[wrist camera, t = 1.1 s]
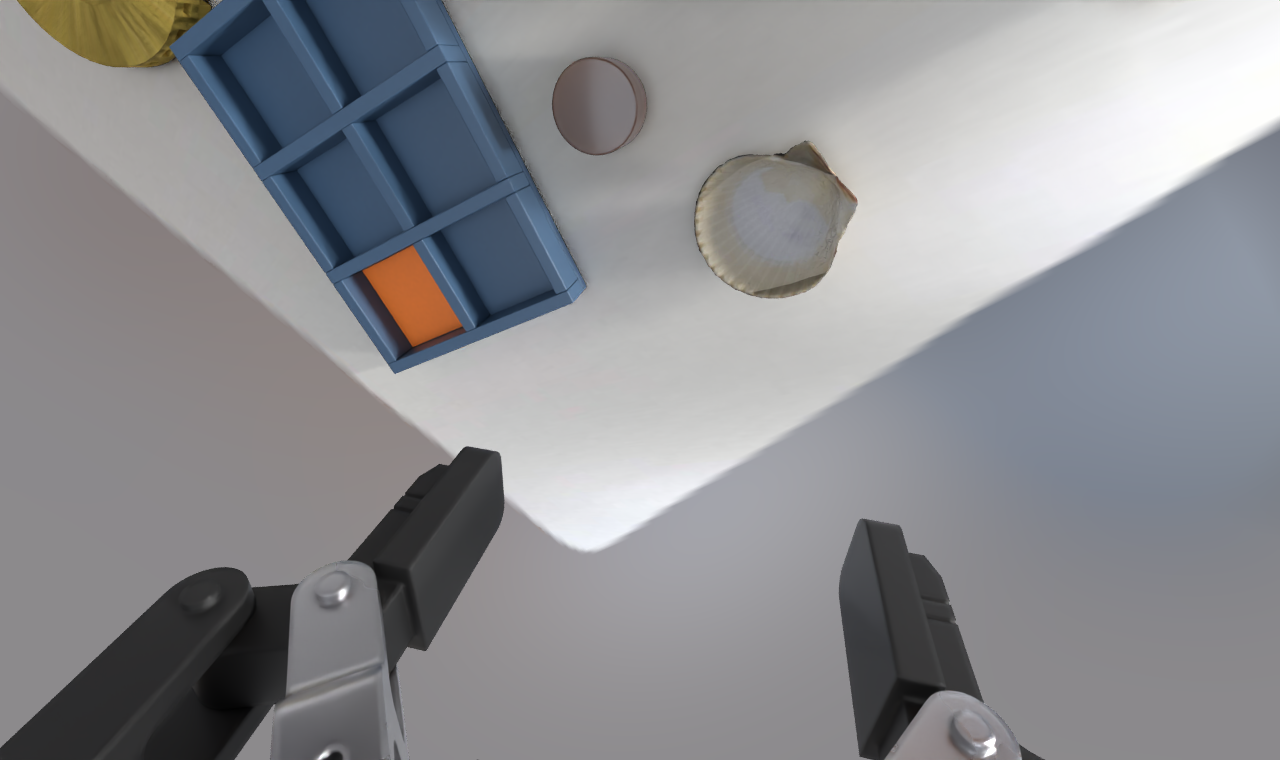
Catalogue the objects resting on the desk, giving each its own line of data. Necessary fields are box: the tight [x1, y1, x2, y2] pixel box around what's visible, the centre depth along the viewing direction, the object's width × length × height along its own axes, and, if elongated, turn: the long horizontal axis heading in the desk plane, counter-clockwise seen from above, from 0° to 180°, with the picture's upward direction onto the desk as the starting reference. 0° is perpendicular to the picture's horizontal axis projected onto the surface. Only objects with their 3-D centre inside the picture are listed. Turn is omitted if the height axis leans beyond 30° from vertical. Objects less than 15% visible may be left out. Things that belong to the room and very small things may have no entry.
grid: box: [169, 0, 587, 374], centre depth 33 cm, size 21×14×3 cm
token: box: [552, 57, 647, 155], centre depth 29 cm, size 4×4×2 cm
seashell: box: [694, 141, 857, 298], centre depth 30 cm, size 8×3×8 cm
